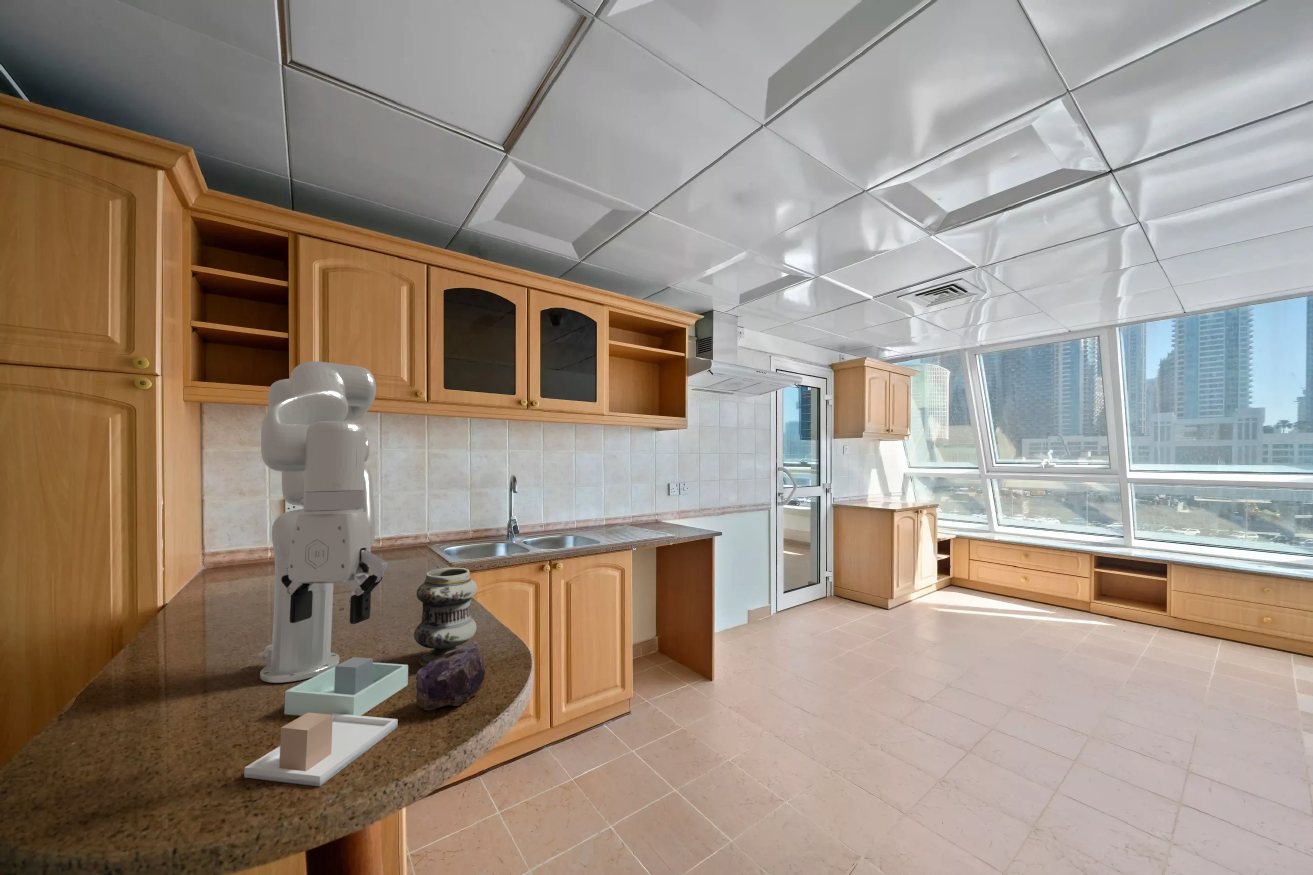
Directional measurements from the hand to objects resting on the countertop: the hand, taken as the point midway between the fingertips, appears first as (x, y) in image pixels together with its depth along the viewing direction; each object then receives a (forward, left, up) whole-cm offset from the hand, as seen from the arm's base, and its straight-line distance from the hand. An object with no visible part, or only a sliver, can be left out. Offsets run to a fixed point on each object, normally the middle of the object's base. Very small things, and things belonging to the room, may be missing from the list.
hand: (330, 620), depth 71 cm
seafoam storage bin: (-7, +13, -17) cm, 23 cm away
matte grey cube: (-7, +14, -17) cm, 23 cm away
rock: (+11, +15, -18) cm, 26 cm away
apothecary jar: (-2, +32, -18) cm, 36 cm away
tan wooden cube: (+2, -5, -17) cm, 18 cm away
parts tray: (+2, -1, -17) cm, 18 cm away
